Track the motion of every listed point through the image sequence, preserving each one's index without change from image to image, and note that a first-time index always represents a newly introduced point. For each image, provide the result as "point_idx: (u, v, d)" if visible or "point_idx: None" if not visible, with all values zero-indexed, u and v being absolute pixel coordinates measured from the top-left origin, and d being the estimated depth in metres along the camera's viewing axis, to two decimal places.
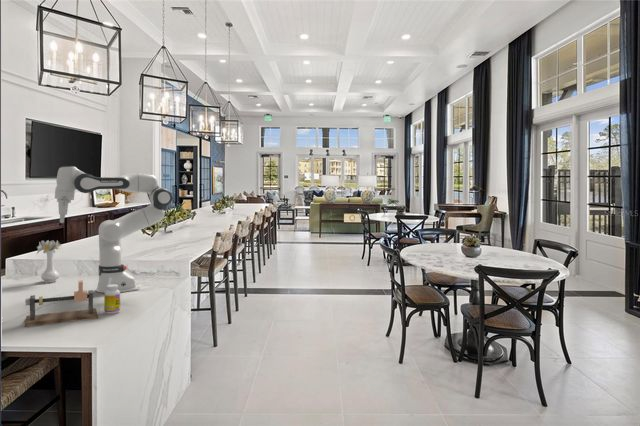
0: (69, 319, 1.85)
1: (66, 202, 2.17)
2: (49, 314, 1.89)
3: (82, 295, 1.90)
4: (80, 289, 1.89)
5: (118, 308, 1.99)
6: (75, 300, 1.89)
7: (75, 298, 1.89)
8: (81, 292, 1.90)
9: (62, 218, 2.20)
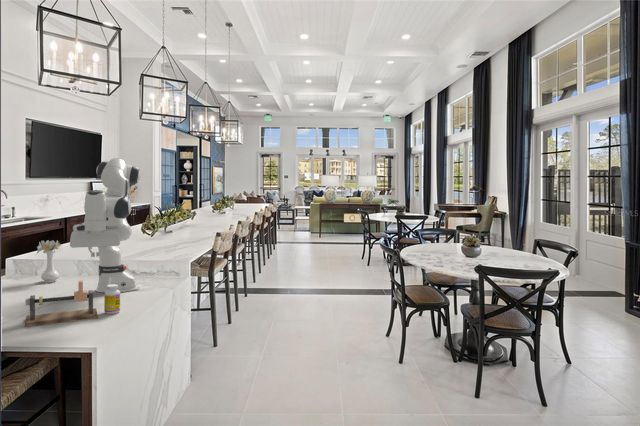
0: (69, 319, 1.85)
1: None
2: (49, 314, 1.89)
3: (82, 295, 1.90)
4: (80, 289, 1.89)
5: (118, 308, 1.99)
6: (75, 300, 1.89)
7: (75, 298, 1.89)
8: (81, 292, 1.90)
9: (100, 250, 1.94)
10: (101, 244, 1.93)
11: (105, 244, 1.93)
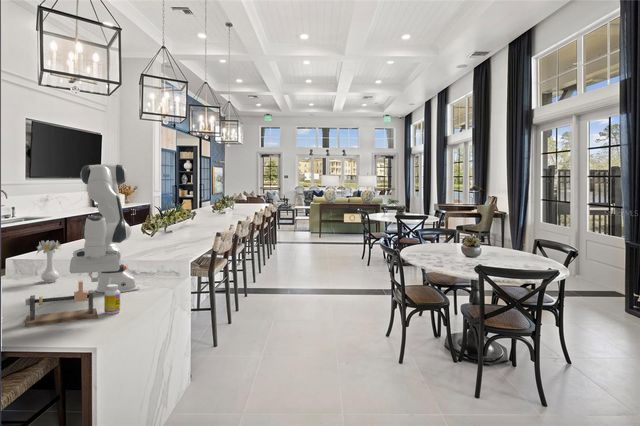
0: (69, 319, 1.85)
1: None
2: (49, 314, 1.89)
3: (82, 295, 1.90)
4: (80, 289, 1.89)
5: (118, 308, 1.99)
6: (75, 300, 1.89)
7: (75, 298, 1.89)
8: (81, 292, 1.90)
9: (99, 276, 1.95)
10: (100, 269, 1.93)
11: (104, 269, 1.94)
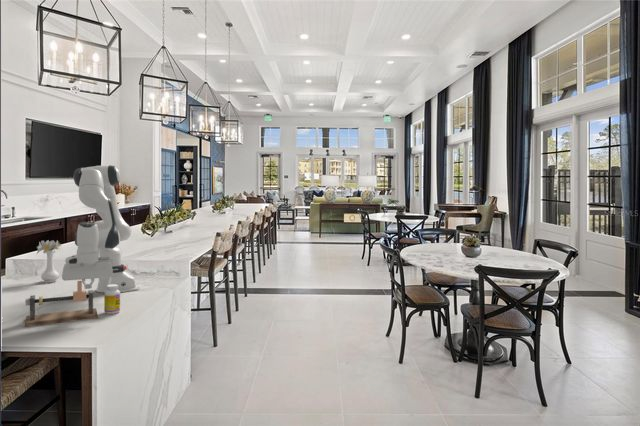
0: (69, 319, 1.85)
1: None
2: (49, 314, 1.89)
3: (81, 295, 1.90)
4: (79, 289, 1.89)
5: (118, 308, 1.99)
6: (74, 300, 1.88)
7: (74, 298, 1.88)
8: (80, 292, 1.89)
9: (92, 282, 1.93)
10: (94, 276, 1.92)
11: (98, 276, 1.93)
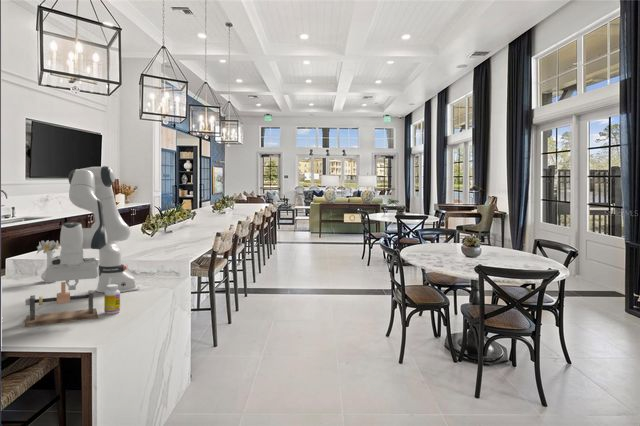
0: (69, 319, 1.85)
1: None
2: (49, 314, 1.89)
3: (65, 297, 1.86)
4: (63, 291, 1.86)
5: (118, 308, 1.99)
6: (57, 302, 1.85)
7: (57, 300, 1.85)
8: (64, 294, 1.86)
9: (76, 283, 1.90)
10: (78, 277, 1.89)
11: (82, 277, 1.90)
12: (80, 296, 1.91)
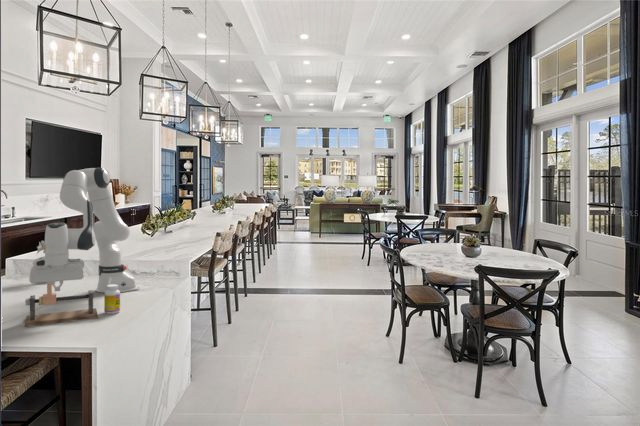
0: (69, 319, 1.85)
1: None
2: (49, 314, 1.89)
3: (51, 298, 1.84)
4: (49, 292, 1.83)
5: (118, 308, 1.99)
6: (43, 303, 1.82)
7: (43, 301, 1.82)
8: (50, 295, 1.83)
9: None
10: (63, 278, 1.86)
11: (67, 278, 1.87)
12: (80, 296, 1.91)
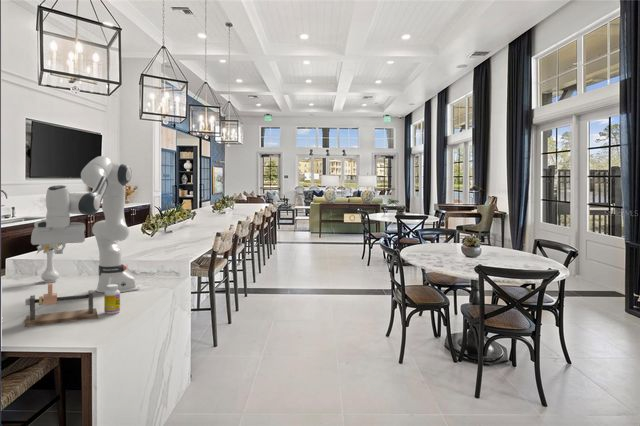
0: (69, 319, 1.85)
1: None
2: (49, 314, 1.89)
3: (51, 298, 1.84)
4: (49, 292, 1.83)
5: (118, 308, 1.99)
6: (44, 303, 1.83)
7: (44, 301, 1.83)
8: (50, 295, 1.84)
9: (63, 248, 1.88)
10: (64, 241, 1.87)
11: (69, 241, 1.88)
12: (80, 296, 1.91)
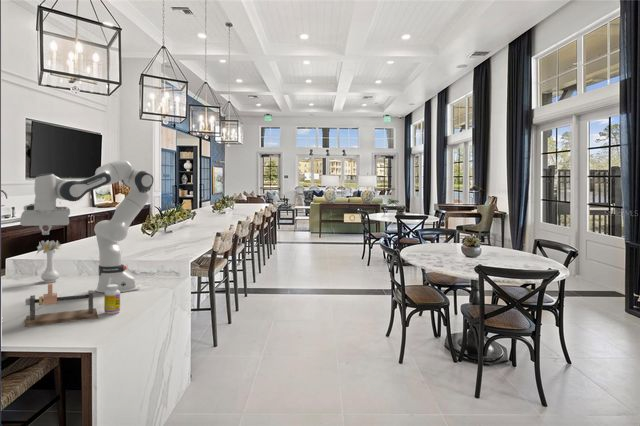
0: (69, 319, 1.85)
1: None
2: (49, 314, 1.89)
3: (51, 298, 1.84)
4: (49, 292, 1.83)
5: (118, 308, 1.99)
6: (44, 303, 1.83)
7: (44, 301, 1.83)
8: (50, 295, 1.84)
9: None
10: (51, 223, 2.08)
11: (54, 223, 2.09)
12: (80, 296, 1.91)
